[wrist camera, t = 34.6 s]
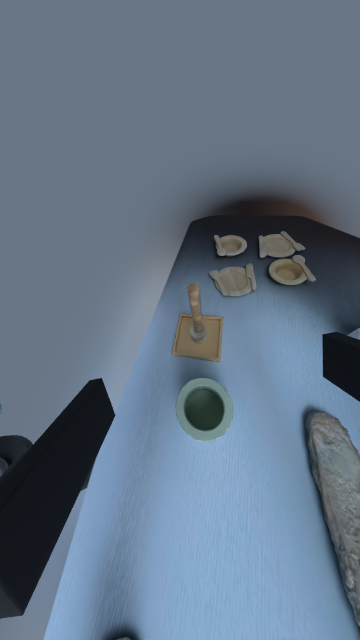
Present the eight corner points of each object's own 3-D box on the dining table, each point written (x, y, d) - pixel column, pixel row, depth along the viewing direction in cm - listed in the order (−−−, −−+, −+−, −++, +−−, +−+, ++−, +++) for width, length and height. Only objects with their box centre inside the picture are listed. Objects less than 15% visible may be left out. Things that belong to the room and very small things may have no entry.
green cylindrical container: (181, 429, 40) (170, 433, 29) (187, 385, 45) (181, 374, 34) (224, 439, 38) (231, 448, 27) (227, 392, 43) (233, 382, 31)
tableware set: (212, 300, 57) (212, 292, 54) (204, 245, 72) (204, 236, 69) (324, 289, 53) (333, 280, 50) (292, 233, 68) (296, 223, 65)
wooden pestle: (190, 342, 50) (179, 296, 31) (192, 329, 52) (183, 278, 33) (205, 344, 49) (204, 298, 30) (207, 330, 51) (207, 279, 32)
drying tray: (173, 355, 49) (171, 353, 48) (181, 317, 56) (180, 313, 54) (219, 362, 47) (219, 359, 45) (222, 320, 53) (223, 317, 51)
